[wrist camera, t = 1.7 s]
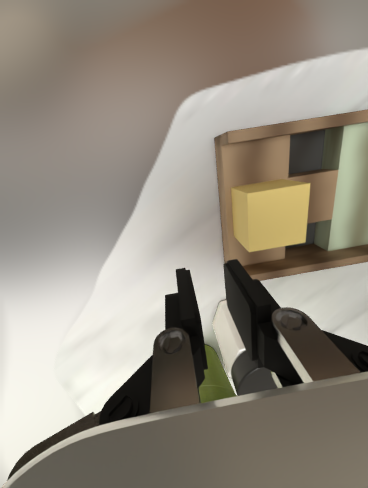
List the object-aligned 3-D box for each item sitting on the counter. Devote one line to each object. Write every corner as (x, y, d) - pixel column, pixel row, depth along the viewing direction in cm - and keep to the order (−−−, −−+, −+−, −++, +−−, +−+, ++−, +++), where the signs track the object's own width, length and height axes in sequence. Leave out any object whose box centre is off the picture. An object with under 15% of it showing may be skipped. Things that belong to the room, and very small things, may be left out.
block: (282, 179, 24) (310, 183, 19) (280, 228, 26) (305, 242, 21) (230, 187, 24) (247, 193, 19) (233, 236, 26) (249, 252, 21)
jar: (272, 312, 35) (322, 383, 24) (237, 341, 37) (268, 419, 26) (238, 284, 32) (276, 348, 21) (202, 317, 34) (220, 392, 23)
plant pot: (228, 328, 35) (255, 397, 25) (228, 375, 40) (250, 450, 29) (160, 336, 35) (158, 411, 24) (167, 383, 39) (168, 463, 29)
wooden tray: (397, 109, 25) (457, 95, 20) (369, 239, 31) (409, 254, 26) (214, 138, 24) (227, 131, 19) (224, 264, 31) (236, 284, 26)
